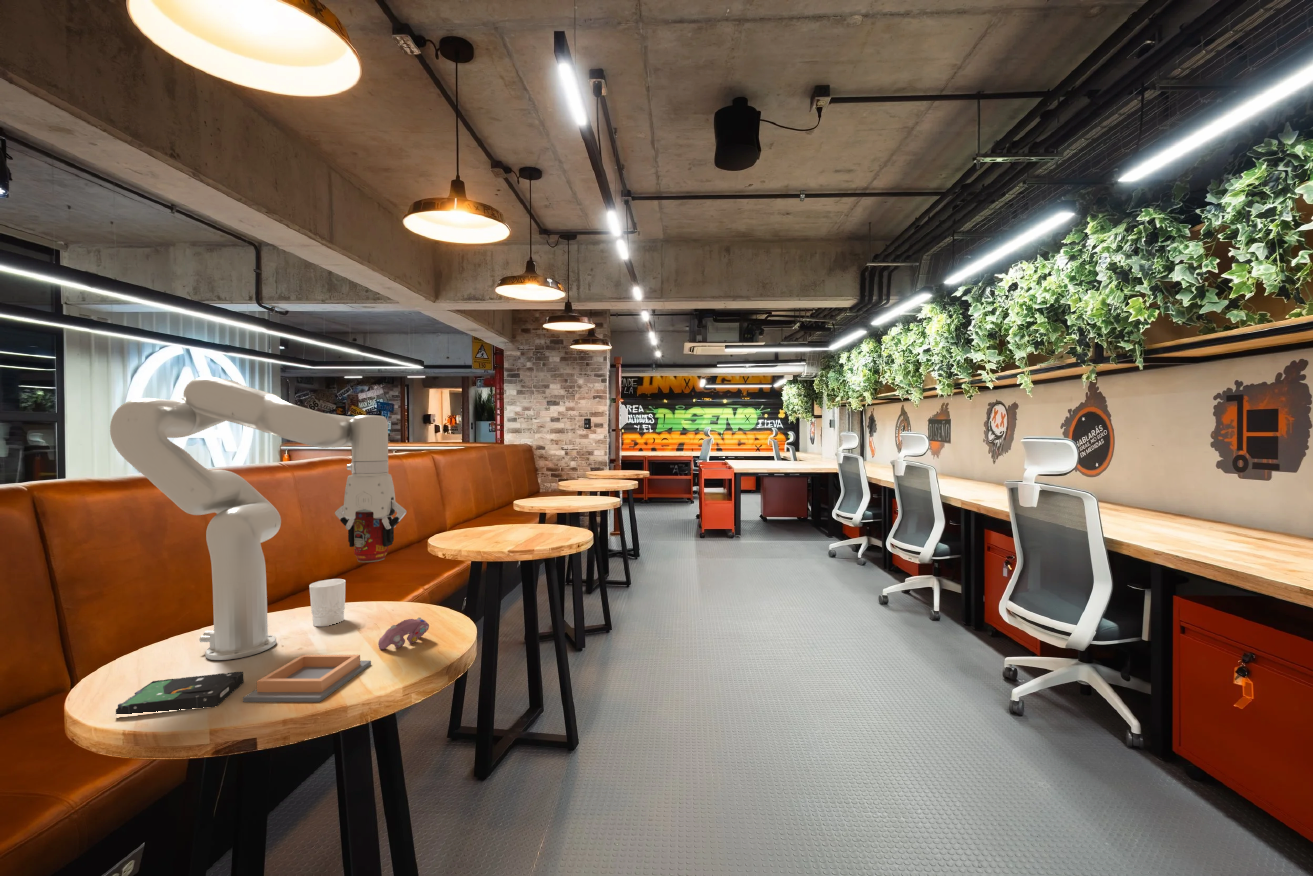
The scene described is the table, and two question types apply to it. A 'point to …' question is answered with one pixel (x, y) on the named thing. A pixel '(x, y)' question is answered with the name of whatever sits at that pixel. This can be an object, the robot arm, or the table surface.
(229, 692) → the disk drive
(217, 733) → the table surface
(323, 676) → the cradle jig
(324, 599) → the white cup
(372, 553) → the soda can
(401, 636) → the video game controller
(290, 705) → the table surface
